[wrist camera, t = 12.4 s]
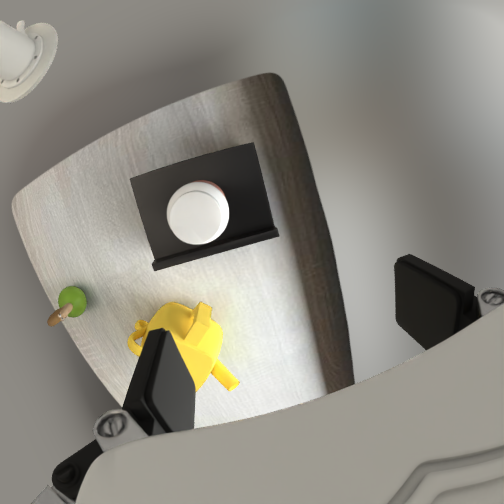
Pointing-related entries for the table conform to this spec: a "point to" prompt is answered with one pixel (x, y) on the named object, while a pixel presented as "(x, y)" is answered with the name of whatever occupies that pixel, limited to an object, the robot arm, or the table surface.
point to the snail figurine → (68, 305)
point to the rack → (234, 188)
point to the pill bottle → (198, 212)
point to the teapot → (189, 340)
